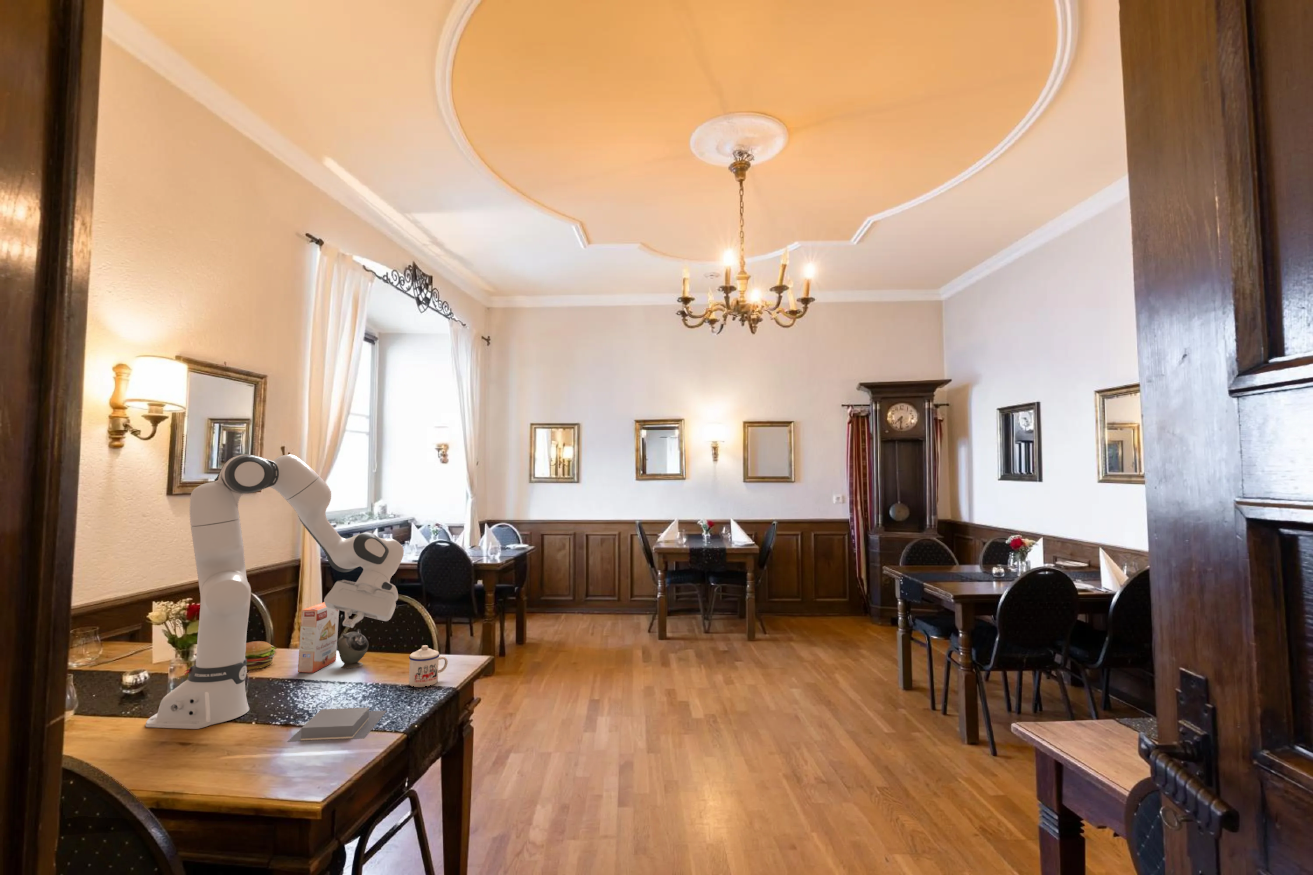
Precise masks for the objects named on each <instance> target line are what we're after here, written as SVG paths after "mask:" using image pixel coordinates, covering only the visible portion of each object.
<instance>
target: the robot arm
mask: <svg viewBox="0 0 1313 875" xmlns="http://www.w3.org/2000/svg"><path fill="white" fill-rule="evenodd" d="M267 488H271V489H273V490H275V491H276V492H277V493H279V494H280V495H281V496H282V497H283V498H284V500H285V501H286V502H287V503H288V504H289V505H290V506H291V507H292V508H293V509H294V511H295V512H296V514H297V516H298V519H299V521H300V522H301V524H302V526H304V528H305V529H306V531H307V532H308V533H309V535H310V536H311V537H312V538H313V539H314V540H315V541H316V543H317V544H318V546H319V547H320V548H321V549H322V550H323V553H324V554H325V557H326V559H327V561H328V564H329V565H330V567H331V568H332V569H334V570H336V571H337V572H341V573H349V572H352V571H354V570H355V569H357V568H358V567H361V568H362V569H363V570H362V572H361V574H360V575H359V577H358V579H357V580H356V581H353V580H352V581H351V580H347V579H342V580H337V581H336V582H335V583H334V585H333V587H331V590H330V591H329V592H328V593H327V594H326V595H325V596H324V599H323V602H325V605H326V607H328V608H332V609H336V610H339V612H340V611H341V612H344V620H343V621H342V626H343V627H347V628H348V627H349V628H351V629H353V628H354V627H355V626H356V624H358V623H359V622H360V621H362V620H363V619H364V617H367V618H370V619H374V620H379V621H383V622H389V620H391V619H392V617H393V616H394V613H395V611H396V610H395V609H396V608H397V607H396V606H397V604H396V603H397V601H398V599H399V593H398V588H397V587H396V585H394V584H393V583H391V578H392V576H394V574H396V572H397V570H398V569H399V567H400V565H401V562H402V561H403V558H404V551H405V550H404V546H403V545H402V544H401V543H400V541H398V540H396V539H393V538H382V537H379V536H377V535H375V533H372V532H361V533H358V534H356V535H353V536H352V537H349V538H344V537H342V536H341V535H340V534H339V532H338V531H337V530H336V529H335V528H334V526H333V525H332V524H331V523H330V522H329V519H328V518H327V516H326V513H327V512H326V511H327V508H328V507H329V505H330V503H331V499H332V490H331V489H330V487H329V485H328V484H327V482H326V481H325V480H324V479H323V478H322V477H321V476H320V475H319V474H318V473H317V472H316V471H315V470H314V469H313V468H312V467H311V466H310V465H308V463H306V462H304V461H303V460H302V459H301V458H299V457H298V456H296V455H294V454H284V455H280V456H278V457H276V458H274V459H273V460H271V459H267V458H263V457H261V456H258V455H253V454H245V453H244V454H237V455H235V456H233V457H231V458H229V459H228V460H226V462H225V463H224V464H223V465H222V467H221V468H220V470H219V472H218V474H217V477H216V478H215V480H214V481H212V482H205V483H203V484H200V485H198V486H197V487H195V488H194V489H193V490H192V491H191V493H190V497H189V498H190V500H189V524H190V530H191V537H192V546H193V554H194V559H195V565H196V572H197V579H198V580H197V582H198V588H199V593H200V594H199V597H200V603H199V604H200V606H199V608H200V609H199V620H198V628H197V630H198V631H197V638H196V639H197V642H196V656H195V664H193V665H191V666H190V667H189V668H188V669H186V670H184V674H183V675H185V676H187V675H188V676H187V679H186V680H185V681H183V682H182V683H180V684H179V685H178V686H177V687H175V688H173V689H172V690H171V691H170V692H169V693H167V694H166V695H165V696H163V697H162V699H161V700H160V703H159V707H158V711H157V713H155V714H154V715H152V716H150V717H149V718H148V719H147V720H146V722H145V727H146V728H159V729H161V728H163V729H187V730H188V729H191V730H199V729H202V728H205V727H208V726H212V725H216V724H220V723H224V722H227V721H231V720H234V719H237V718H239V717H241V716H243V715H245V714H247V713H248V712H249V711H250V707H249V704H248V699H247V694H246V693H247V692H246V679H247V678H246V677H247V672H248V670H247V659H246V658H245V652H246V643H247V635H248V634H247V633H248V632H247V631H248V625H249V623H248V622H249V617H250V607H251V598H252V597H251V594H252V588H251V584H250V582H248V578H247V577H248V576H247V568H246V562H245V560H246V559H245V550H244V549H245V548H244V547H245V546H244V540H243V532H242V526H241V524H242V523H241V519H240V513H239V502H240V499H241V497H242V496H243V495H245V494H253V493H257V492H260V491H262V490H265V489H267ZM352 614H353V615H356V617H354V618H353V619H351V618H349V617H351V616H352Z"/></svg>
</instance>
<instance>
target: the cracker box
mask: <svg viewBox="0 0 1313 875" xmlns="http://www.w3.org/2000/svg"><path fill="white" fill-rule="evenodd" d="M339 615H340V610H336V609H332V608H328V607H326V605H325V602H324V601H323V602H320V603H317V604H314V605H312V606H309V607H306V608H303V609H301V618H300V632H299V634H300V636H299V648H298V662H297V664H298V665H297V673H304V674H305V673H308V674H309V673H312V674H313V673H315V672H317V671H319V670H321V669H323V668H325V667H327V666H328V665H331V664H333V663H334V662H336V661H337V650H338V646H337V642H338V633H339V632H338V631H339V617H340V616H339Z"/></svg>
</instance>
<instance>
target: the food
mask: <svg viewBox="0 0 1313 875" xmlns="http://www.w3.org/2000/svg"><path fill="white" fill-rule="evenodd" d="M276 649H277V647H276V646H272V645H271V644H270V643H269V642H267V641H262V640H261V641H260V640H257V641H249V642H246V652H245V658H246V659H247V671H251V670H257V669H262V668H264V667H268V666H269V665H271V664H272V663H273V658H274V657H275V653H276Z"/></svg>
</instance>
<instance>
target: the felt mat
mask: <svg viewBox="0 0 1313 875" xmlns="http://www.w3.org/2000/svg"><path fill="white" fill-rule="evenodd" d="M386 713H387V710H371V711H370V710H369V719H368V720H367V722H366V723H365V724H364V725H363V726H362V727H361V729H360V730H359V731H358V732H357V733H356V734H355V736H354V737H353V738H344V739H343V740H357V739H358V740H359V739H360V740H361V739H366V737H367V736H368V735H369V733H370V732H372V730H373V728H374V727H375V726H376V725H377V724H378V723H379V721H380V720H381V719H382V718H383V716H384V715H385V714H386ZM335 740H338V741H339V740H342V739H321V740H301V728H300V729H299V731H297V732H296V733H295V734H294V735H292V736H291V738H289V739H288V740H287V741H286V742H287V743H291V742H292V743H293V742H295V743H296V742H312V741H313V742H314V741H335Z"/></svg>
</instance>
